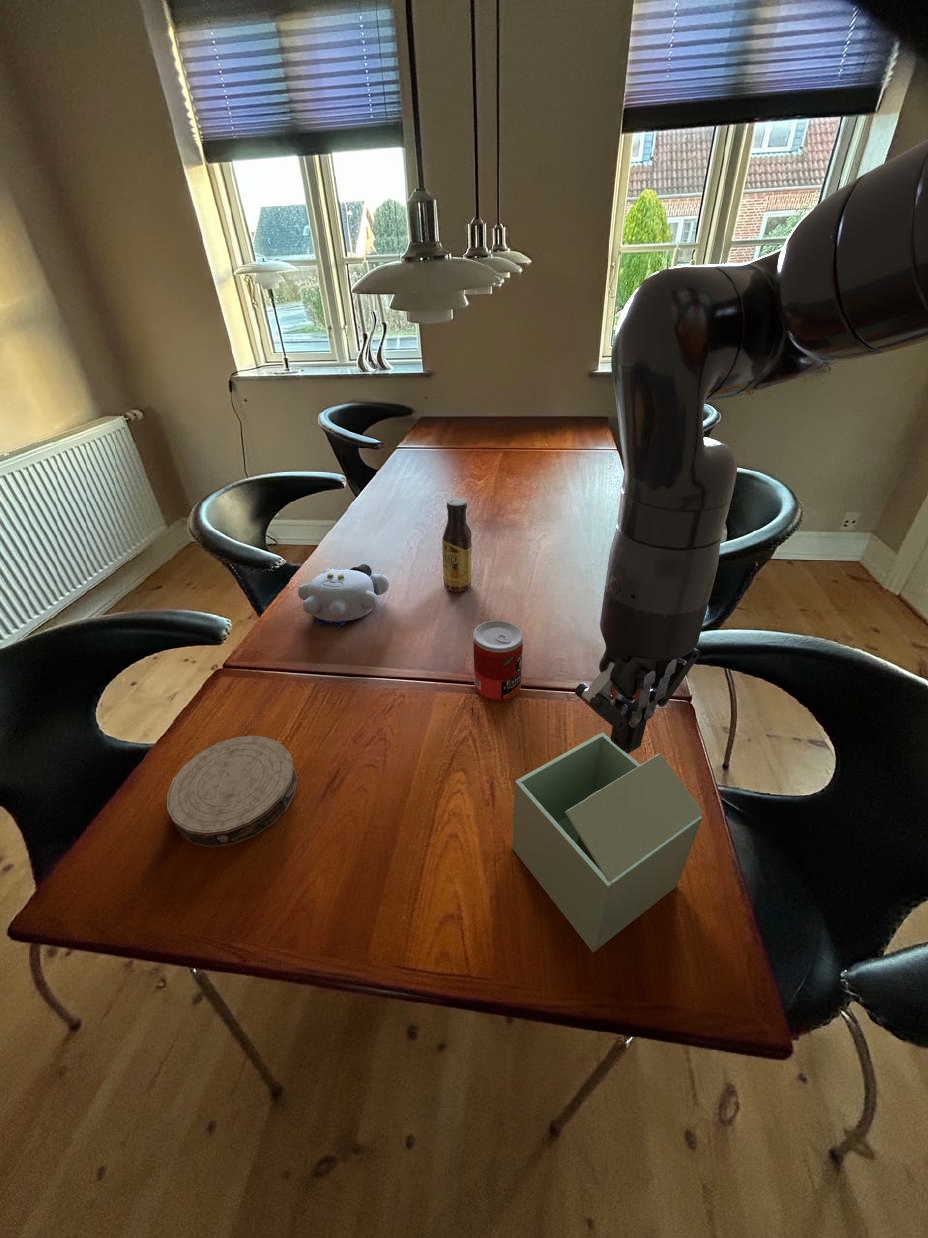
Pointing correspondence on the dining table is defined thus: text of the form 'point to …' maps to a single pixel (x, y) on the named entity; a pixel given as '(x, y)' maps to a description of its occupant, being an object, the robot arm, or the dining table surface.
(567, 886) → the carton
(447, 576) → the sauce bottle
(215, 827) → the grey flat disc
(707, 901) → the dining table surface
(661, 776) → the flap
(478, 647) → the canned food
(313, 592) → the figurine
